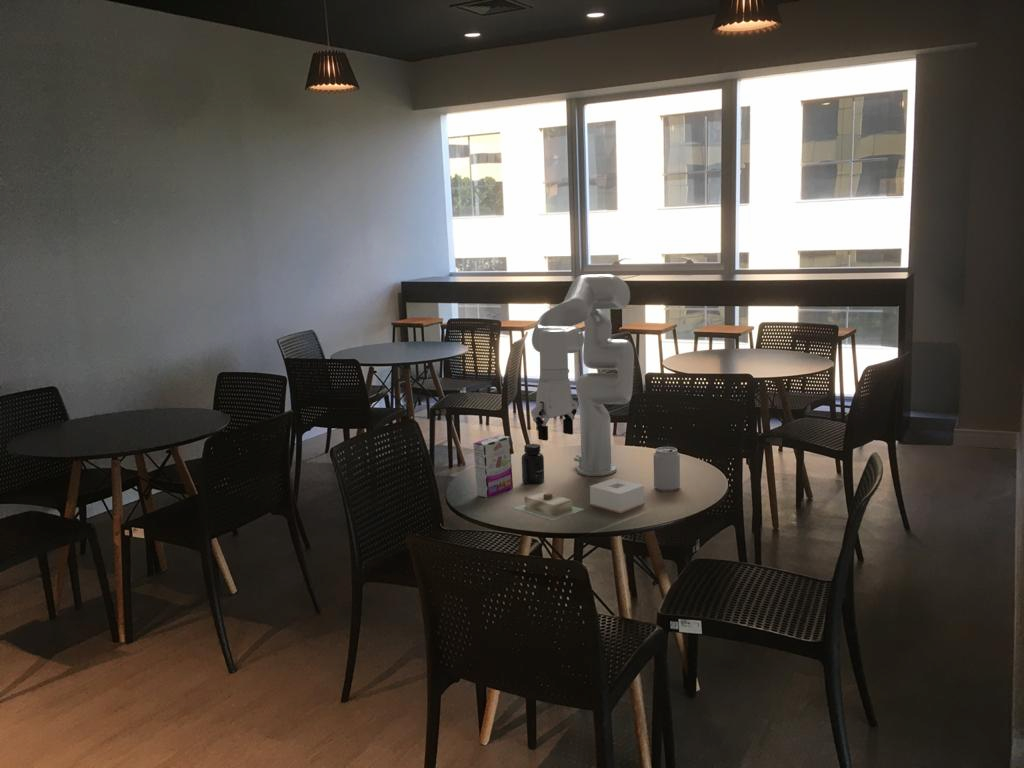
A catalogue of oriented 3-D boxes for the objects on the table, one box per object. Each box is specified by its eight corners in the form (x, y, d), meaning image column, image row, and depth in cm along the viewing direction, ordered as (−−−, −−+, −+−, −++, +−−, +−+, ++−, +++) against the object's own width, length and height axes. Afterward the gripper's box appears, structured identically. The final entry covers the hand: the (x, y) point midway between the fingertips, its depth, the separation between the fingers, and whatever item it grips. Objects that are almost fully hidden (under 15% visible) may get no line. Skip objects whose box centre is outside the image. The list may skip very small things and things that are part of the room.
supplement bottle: (542, 486, 254) (541, 448, 252) (520, 486, 255) (519, 448, 253) (546, 480, 261) (544, 442, 259) (524, 479, 262) (522, 442, 260)
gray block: (590, 506, 234) (589, 486, 233) (614, 498, 240) (613, 478, 239) (620, 515, 226) (620, 493, 224) (644, 506, 232) (644, 485, 231)
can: (679, 492, 243) (679, 452, 241) (653, 491, 244) (653, 452, 242) (680, 484, 250) (679, 445, 248) (654, 484, 252) (653, 445, 249)
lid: (525, 506, 234) (524, 493, 234) (541, 501, 238) (541, 487, 238) (555, 516, 225) (554, 502, 225) (572, 510, 230) (571, 496, 229)
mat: (513, 509, 234) (512, 507, 234) (543, 499, 242) (543, 497, 242) (553, 522, 222) (553, 520, 222) (584, 511, 230) (584, 509, 230)
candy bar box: (501, 486, 256) (498, 434, 253) (513, 489, 253) (511, 436, 250) (475, 496, 248) (472, 442, 245) (487, 499, 245) (484, 444, 242)
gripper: (566, 370, 235) (567, 429, 238) (521, 377, 224) (523, 440, 226) (586, 372, 230) (587, 433, 232) (541, 380, 218) (543, 444, 221)
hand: (555, 436), depth 229 cm, fingers open, 9 cm apart
